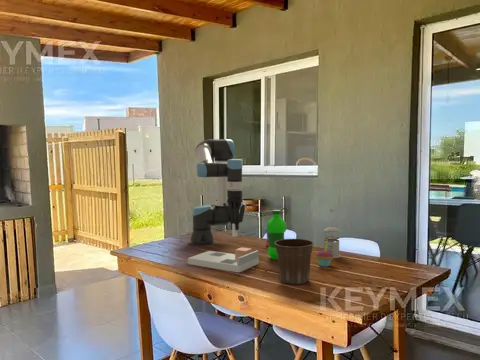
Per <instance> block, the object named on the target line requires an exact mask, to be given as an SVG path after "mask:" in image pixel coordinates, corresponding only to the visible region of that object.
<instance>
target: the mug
mask: <svg viewBox="0 0 480 360" xmlns="http://www.w3.org/2000/svg"><path fill="white" fill-rule="evenodd" d="M264 231H265V232H266V233H265V234H266V243H265V245H266V247H269V232H268V231H267V227H265V228H264Z"/></svg>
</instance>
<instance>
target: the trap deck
mask: <svg viewBox="0 0 480 360" xmlns="http://www.w3.org/2000/svg"><path fill="white" fill-rule="evenodd" d="M259 254H260V251H259V250H254V251H252V252H251V253H249V254H246V255H244V256H241V257H239V258H237V259H235V253H230V252H229V253H227V252H221V251H214V250H207V251H204V252H201V253H198V254H196V255H193V256H190V257H187V265H190V266H191V265H192V266H197V267H198V266H199V267H204V268H210V269H216V270H222V271H228V272H234V273H242V272H244V271H247V270H249V269H250V268H252V267H255V266H256V265H259V263H260V262H259V261H260V260H259V259H260V256H259Z"/></svg>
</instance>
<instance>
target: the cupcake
mask: <svg viewBox="0 0 480 360" xmlns="http://www.w3.org/2000/svg"><path fill="white" fill-rule="evenodd" d="M327 242H328V240H327V241H326V247H325V251H324V249H323V250H319V251H317V252H316V254H315V259H317V262H318V265H319V266H320V267H326V268H327V267H329V266H330V265H331V262H332V261H333V259H334V258H333V254H332V253H331V252H329V251H328V250H327V248H328V247H327V246H328V245H327Z"/></svg>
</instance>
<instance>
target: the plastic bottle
mask: <svg viewBox="0 0 480 360" xmlns="http://www.w3.org/2000/svg"><path fill="white" fill-rule="evenodd" d="M272 215H273V217H271V218H270V220H268V221H267V224H266V228H267V231H268V232H269V246H268V247H267V254H268V256H269V257H270V258H271V259H272V260H277V261H278V255H277V252H276V245H275V244H274V243H275V241H278V240H282V239H285V232H286V231H287V223H286V221H285V220H284V219H283V218H282V217H281V209H273V210H272Z"/></svg>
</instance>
